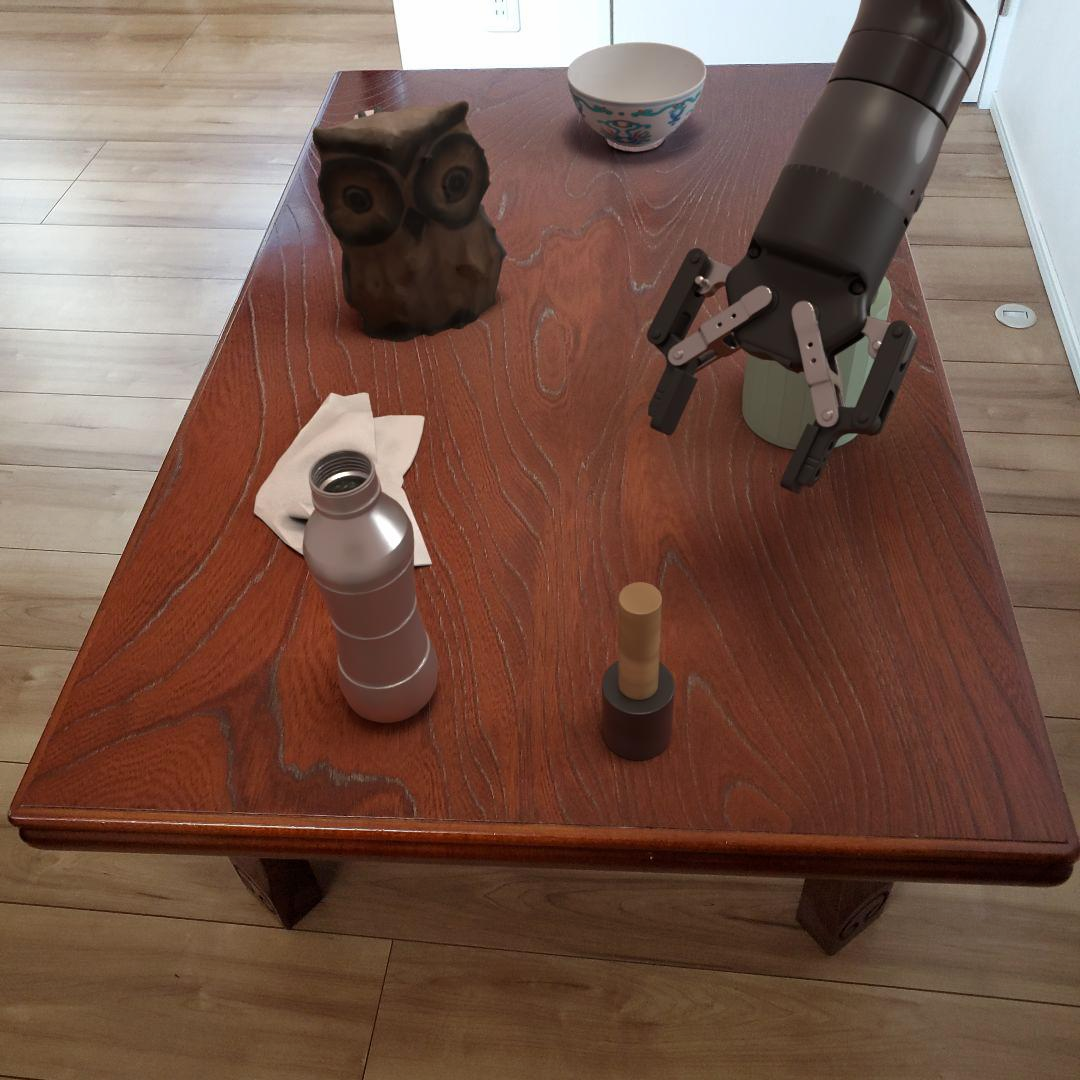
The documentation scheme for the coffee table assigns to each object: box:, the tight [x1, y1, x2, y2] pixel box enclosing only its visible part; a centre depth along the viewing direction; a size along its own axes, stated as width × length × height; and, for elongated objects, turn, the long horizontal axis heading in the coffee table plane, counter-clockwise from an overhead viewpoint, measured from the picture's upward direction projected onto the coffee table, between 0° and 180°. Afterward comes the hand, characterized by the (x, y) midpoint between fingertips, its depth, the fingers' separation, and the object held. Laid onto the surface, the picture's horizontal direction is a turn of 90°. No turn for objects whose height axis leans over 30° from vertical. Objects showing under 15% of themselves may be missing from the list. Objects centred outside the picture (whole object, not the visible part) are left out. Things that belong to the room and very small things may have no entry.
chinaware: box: [566, 41, 707, 147], centre depth 123 cm, size 15×15×8 cm
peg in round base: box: [601, 581, 675, 761], centre depth 67 cm, size 4×4×13 cm
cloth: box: [253, 392, 433, 567], centre depth 87 cm, size 26×14×2 cm, turn 4°
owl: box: [311, 100, 508, 342], centre depth 98 cm, size 13×13×20 cm
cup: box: [741, 275, 893, 451], centre depth 88 cm, size 10×10×12 cm
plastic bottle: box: [302, 449, 439, 724], centre depth 67 cm, size 6×7×20 cm
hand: (723, 460), depth 64 cm, fingers open, 8 cm apart
